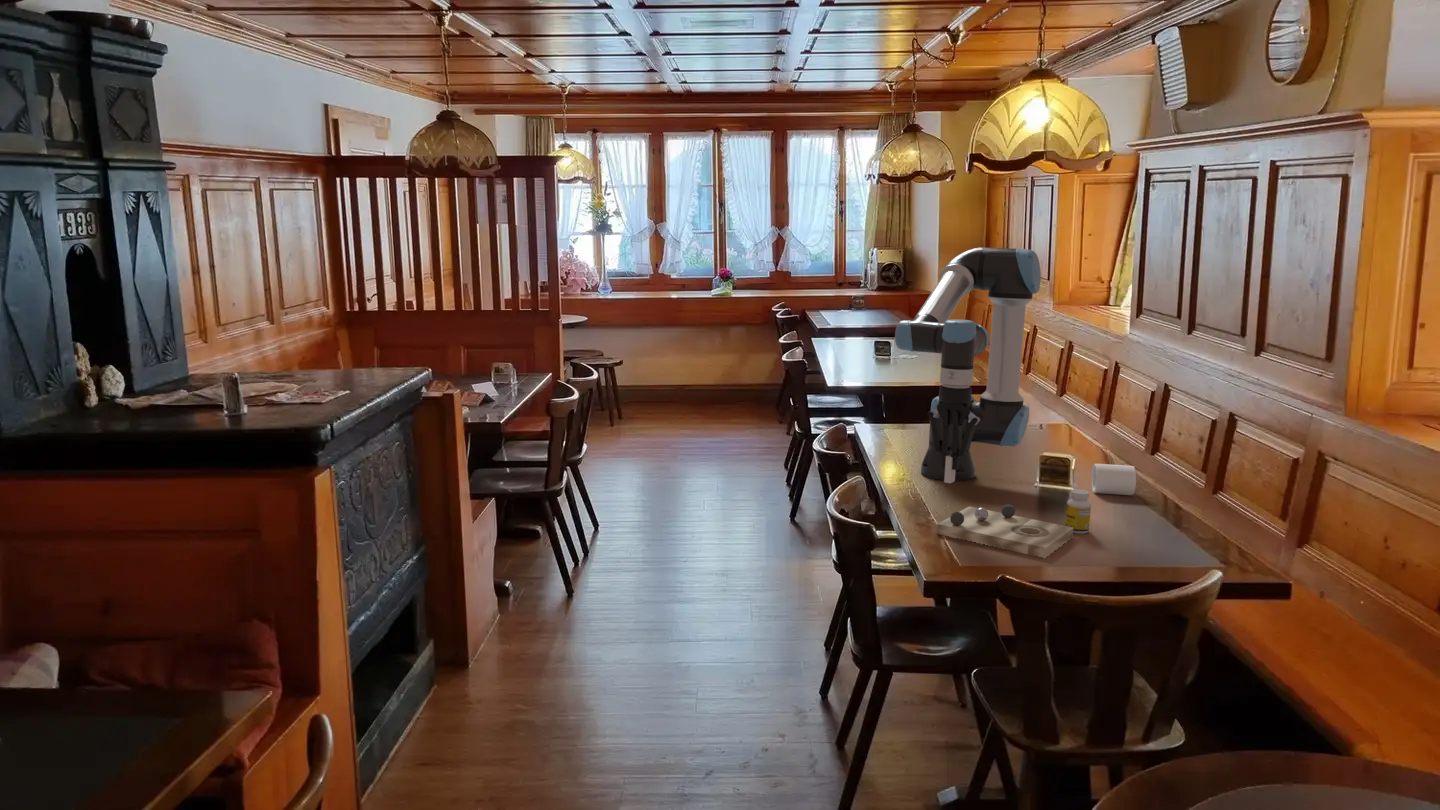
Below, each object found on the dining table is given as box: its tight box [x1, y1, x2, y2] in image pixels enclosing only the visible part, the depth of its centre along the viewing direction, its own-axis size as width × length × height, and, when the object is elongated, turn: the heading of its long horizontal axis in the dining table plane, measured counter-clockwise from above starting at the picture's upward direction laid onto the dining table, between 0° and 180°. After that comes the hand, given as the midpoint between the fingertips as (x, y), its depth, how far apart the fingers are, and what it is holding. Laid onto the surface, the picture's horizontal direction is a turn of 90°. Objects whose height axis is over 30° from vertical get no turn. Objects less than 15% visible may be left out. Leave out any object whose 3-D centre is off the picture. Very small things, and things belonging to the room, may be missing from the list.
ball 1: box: [949, 511, 964, 526], centre depth 237 cm, size 3×3×3 cm
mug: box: [1091, 463, 1137, 496], centre depth 275 cm, size 12×10×8 cm
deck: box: [936, 505, 1074, 559], centre depth 238 cm, size 26×18×2 cm
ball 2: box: [1000, 504, 1016, 518], centre depth 243 cm, size 3×3×3 cm
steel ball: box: [975, 507, 988, 521], centre depth 241 cm, size 3×3×3 cm
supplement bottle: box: [1064, 488, 1092, 535], centre depth 242 cm, size 5×5×10 cm
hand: (949, 481), depth 244 cm, fingers closed
